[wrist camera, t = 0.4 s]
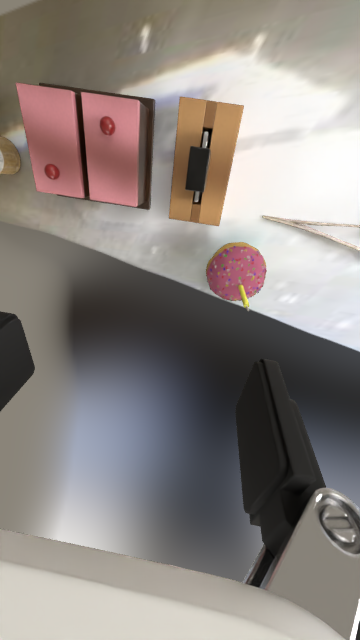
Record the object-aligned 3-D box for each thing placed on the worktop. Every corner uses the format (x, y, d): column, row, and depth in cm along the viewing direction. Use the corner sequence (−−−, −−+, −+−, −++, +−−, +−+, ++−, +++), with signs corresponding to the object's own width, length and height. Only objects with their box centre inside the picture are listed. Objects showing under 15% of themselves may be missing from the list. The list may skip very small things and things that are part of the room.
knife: (201, 138, 29) (193, 120, 17) (214, 140, 29) (214, 123, 17) (194, 193, 32) (182, 209, 20) (205, 195, 32) (200, 212, 20)
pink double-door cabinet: (42, 84, 28) (-5, 62, 22) (155, 100, 28) (138, 82, 22) (59, 194, 35) (26, 200, 29) (150, 209, 35) (136, 218, 29)
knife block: (186, 110, 28) (179, 96, 22) (237, 117, 28) (244, 105, 22) (176, 209, 34) (168, 218, 29) (218, 216, 34) (218, 226, 28)
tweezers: (394, 223, 32) (402, 226, 30) (372, 256, 35) (379, 261, 33) (267, 197, 33) (269, 198, 31) (255, 231, 36) (257, 234, 34)
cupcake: (270, 270, 38) (290, 307, 28) (224, 295, 41) (227, 337, 31) (244, 223, 34) (257, 247, 24) (196, 255, 38) (190, 287, 28)
